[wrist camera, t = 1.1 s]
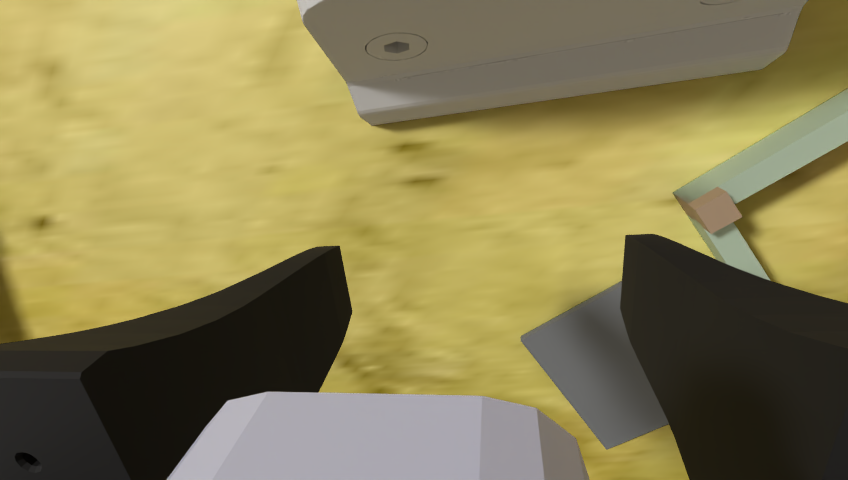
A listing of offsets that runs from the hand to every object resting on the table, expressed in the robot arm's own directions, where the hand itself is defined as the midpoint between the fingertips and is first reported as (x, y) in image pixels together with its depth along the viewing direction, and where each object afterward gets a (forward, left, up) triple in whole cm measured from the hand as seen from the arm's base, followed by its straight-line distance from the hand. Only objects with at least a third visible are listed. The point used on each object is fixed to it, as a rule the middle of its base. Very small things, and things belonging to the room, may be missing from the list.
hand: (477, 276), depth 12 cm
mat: (-11, 0, -10) cm, 15 cm away
